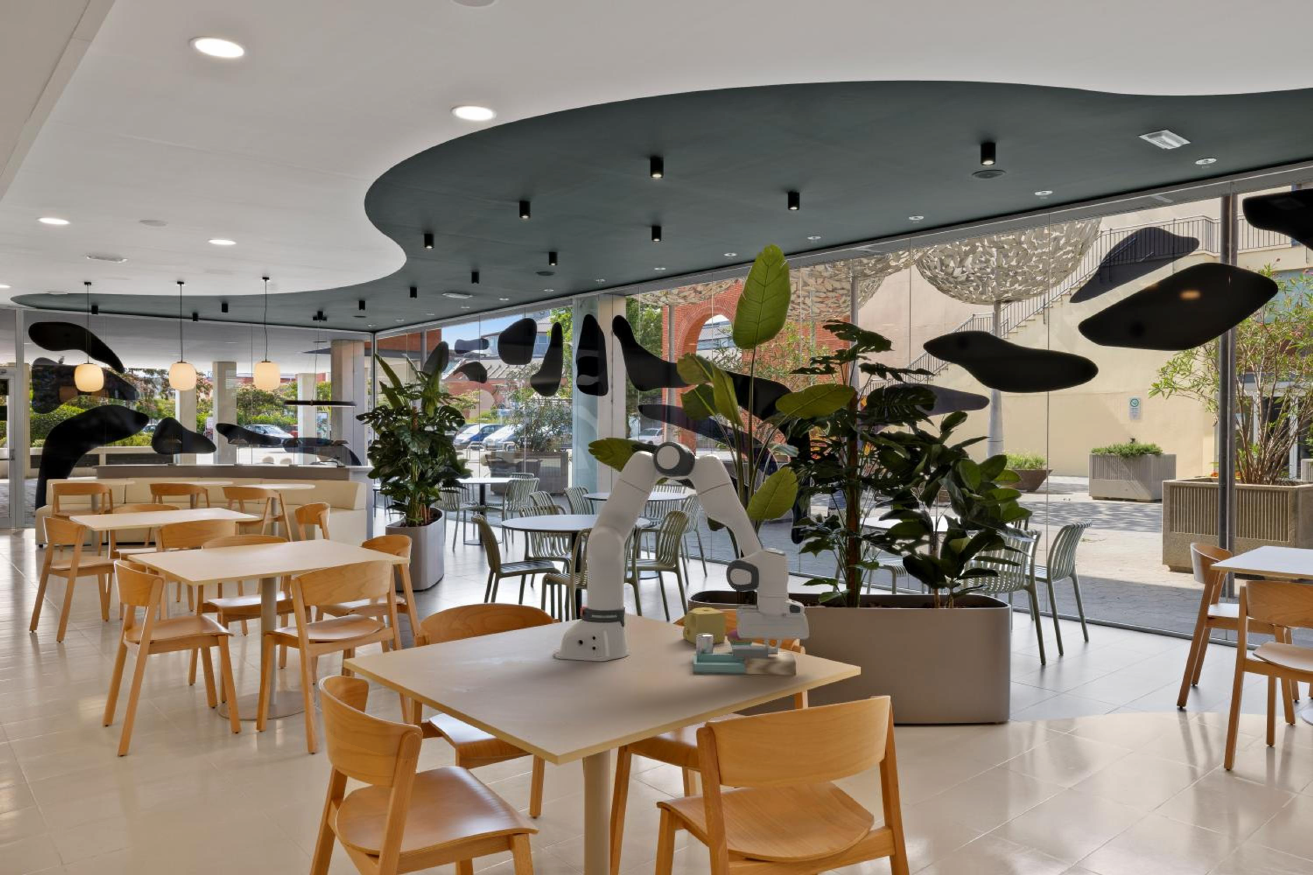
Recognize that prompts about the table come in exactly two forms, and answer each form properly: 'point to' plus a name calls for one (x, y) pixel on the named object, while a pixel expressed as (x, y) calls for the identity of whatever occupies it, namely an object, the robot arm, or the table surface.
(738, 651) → the tile
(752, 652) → the tile
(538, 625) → the table surface
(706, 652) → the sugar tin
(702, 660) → the tray
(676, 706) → the table surface
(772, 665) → the board
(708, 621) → the cheese
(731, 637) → the cupcake
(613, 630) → the robot arm
